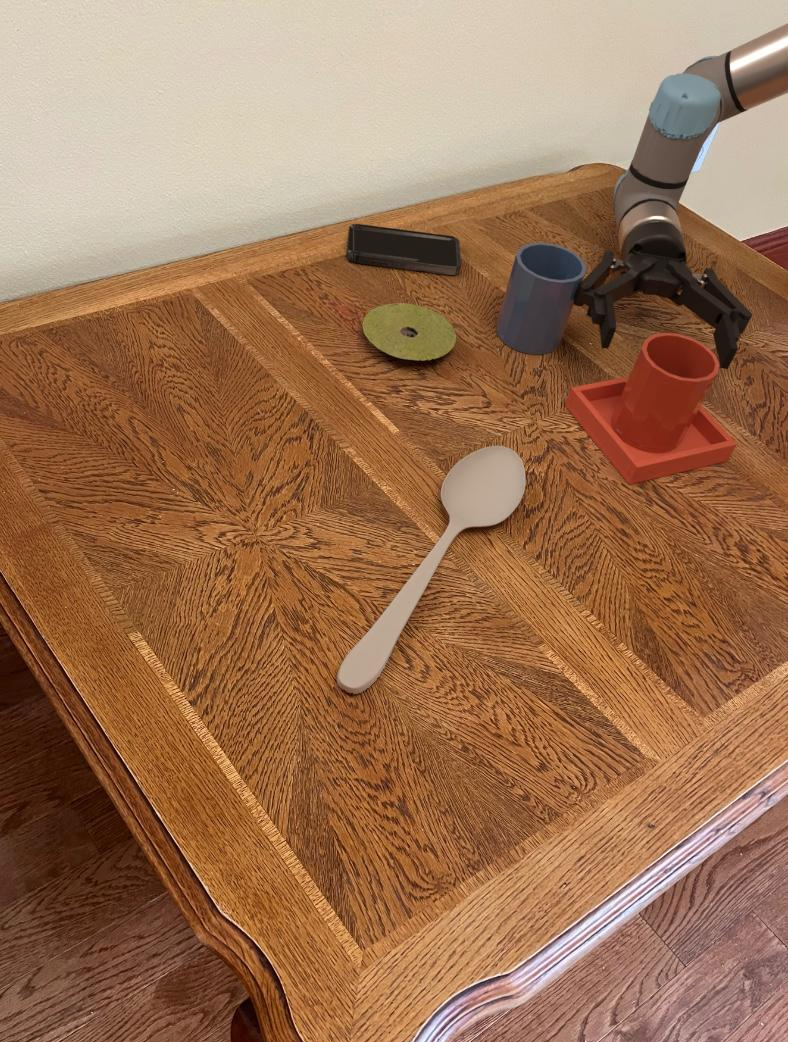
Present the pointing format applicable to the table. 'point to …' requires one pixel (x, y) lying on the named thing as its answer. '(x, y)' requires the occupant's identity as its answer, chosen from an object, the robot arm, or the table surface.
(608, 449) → the red tray
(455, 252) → the phone
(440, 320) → the green grinding disc
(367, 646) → the spoon
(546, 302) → the blue cup
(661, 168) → the robot arm
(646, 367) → the rust cup
